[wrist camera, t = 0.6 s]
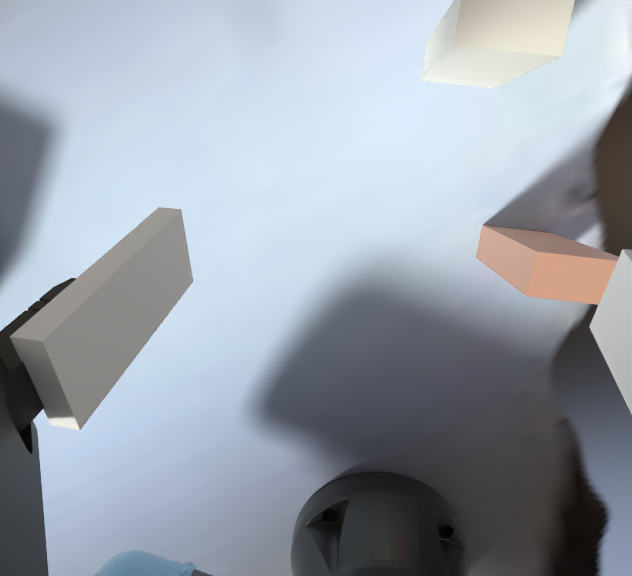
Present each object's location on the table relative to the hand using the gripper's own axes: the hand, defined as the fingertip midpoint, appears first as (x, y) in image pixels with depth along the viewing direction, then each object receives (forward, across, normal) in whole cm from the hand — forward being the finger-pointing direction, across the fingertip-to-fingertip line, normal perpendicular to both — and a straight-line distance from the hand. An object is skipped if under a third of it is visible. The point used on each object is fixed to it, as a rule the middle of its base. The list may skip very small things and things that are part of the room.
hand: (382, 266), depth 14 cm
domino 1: (+22, -3, -3) cm, 23 cm away
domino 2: (+19, -9, +9) cm, 23 cm away
